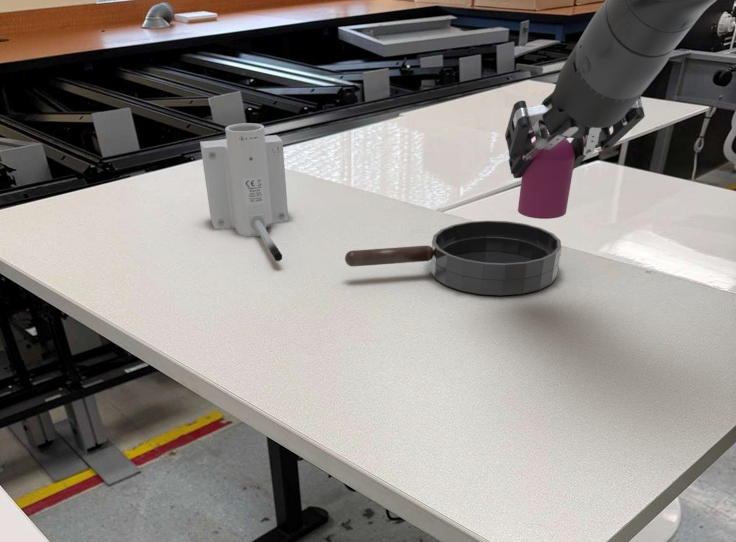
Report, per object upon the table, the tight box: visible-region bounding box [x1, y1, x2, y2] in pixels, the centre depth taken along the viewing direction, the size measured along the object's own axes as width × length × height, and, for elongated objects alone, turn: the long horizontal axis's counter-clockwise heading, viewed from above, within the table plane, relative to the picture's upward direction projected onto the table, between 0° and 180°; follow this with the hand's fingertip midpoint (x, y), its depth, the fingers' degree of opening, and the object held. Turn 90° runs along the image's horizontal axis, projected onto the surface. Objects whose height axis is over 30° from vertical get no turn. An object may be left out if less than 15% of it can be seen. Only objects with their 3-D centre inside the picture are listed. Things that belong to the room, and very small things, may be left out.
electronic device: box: [199, 122, 289, 262], centre depth 105 cm, size 12×26×15 cm, turn 17°
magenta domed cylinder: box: [517, 133, 575, 220], centre depth 79 cm, size 5×5×8 cm
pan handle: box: [344, 245, 434, 268], centre depth 95 cm, size 12×2×2 cm, turn 98°
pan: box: [429, 220, 562, 296], centre depth 97 cm, size 17×17×4 cm
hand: (540, 167), depth 80 cm, fingers closed on magenta domed cylinder, 5 cm apart
